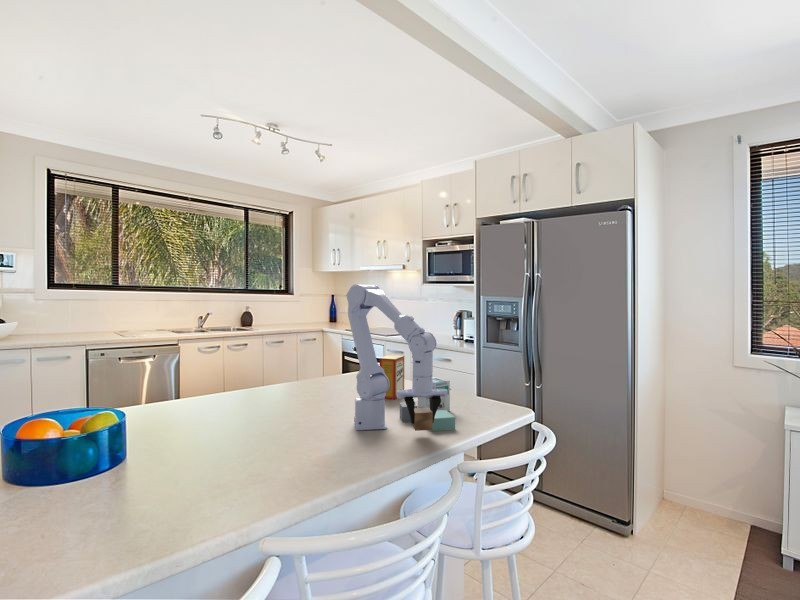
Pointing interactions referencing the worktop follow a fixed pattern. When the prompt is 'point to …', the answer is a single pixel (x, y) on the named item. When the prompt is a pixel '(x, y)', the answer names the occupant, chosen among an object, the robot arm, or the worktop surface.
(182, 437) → the worktop surface
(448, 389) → the light bulb box
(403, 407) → the slate cube
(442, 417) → the teal base block
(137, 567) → the worktop surface
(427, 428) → the walnut cube
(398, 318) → the robot arm
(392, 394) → the baking soda box
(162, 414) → the worktop surface
